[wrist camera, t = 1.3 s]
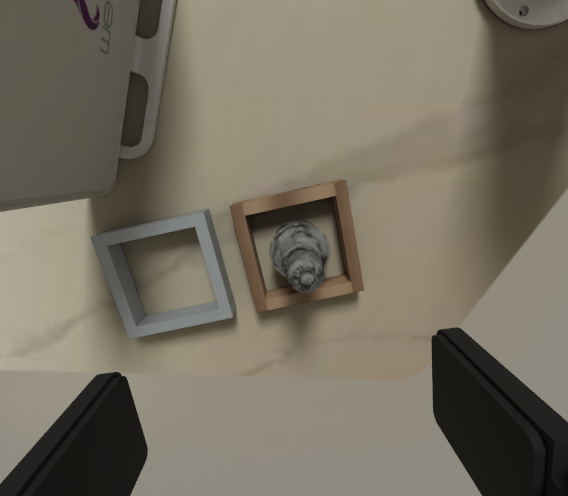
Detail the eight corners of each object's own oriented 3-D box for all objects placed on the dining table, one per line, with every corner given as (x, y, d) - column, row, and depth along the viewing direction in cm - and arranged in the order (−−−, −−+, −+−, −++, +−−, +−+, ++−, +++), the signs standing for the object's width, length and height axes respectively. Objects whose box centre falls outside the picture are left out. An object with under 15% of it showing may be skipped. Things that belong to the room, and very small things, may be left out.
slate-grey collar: (208, 208, 33) (203, 212, 30) (236, 307, 36) (233, 317, 33) (104, 231, 33) (90, 236, 31) (139, 327, 36) (129, 339, 34)
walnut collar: (341, 179, 32) (346, 180, 30) (358, 281, 35) (364, 290, 33) (233, 203, 33) (229, 206, 30) (258, 302, 35) (257, 312, 33)
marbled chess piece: (269, 217, 33) (264, 244, 21) (325, 216, 33) (350, 241, 22) (271, 270, 35) (267, 322, 23) (324, 269, 35) (348, 320, 23)
